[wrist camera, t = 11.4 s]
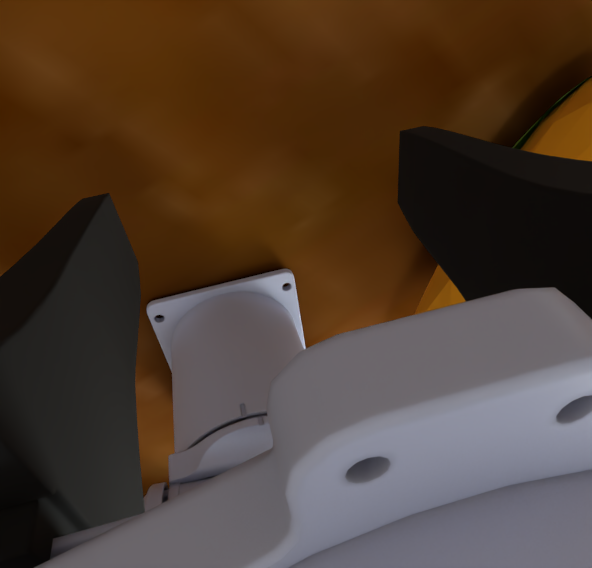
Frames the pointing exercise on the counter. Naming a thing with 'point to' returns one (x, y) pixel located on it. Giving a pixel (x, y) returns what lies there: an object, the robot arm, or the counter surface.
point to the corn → (543, 140)
